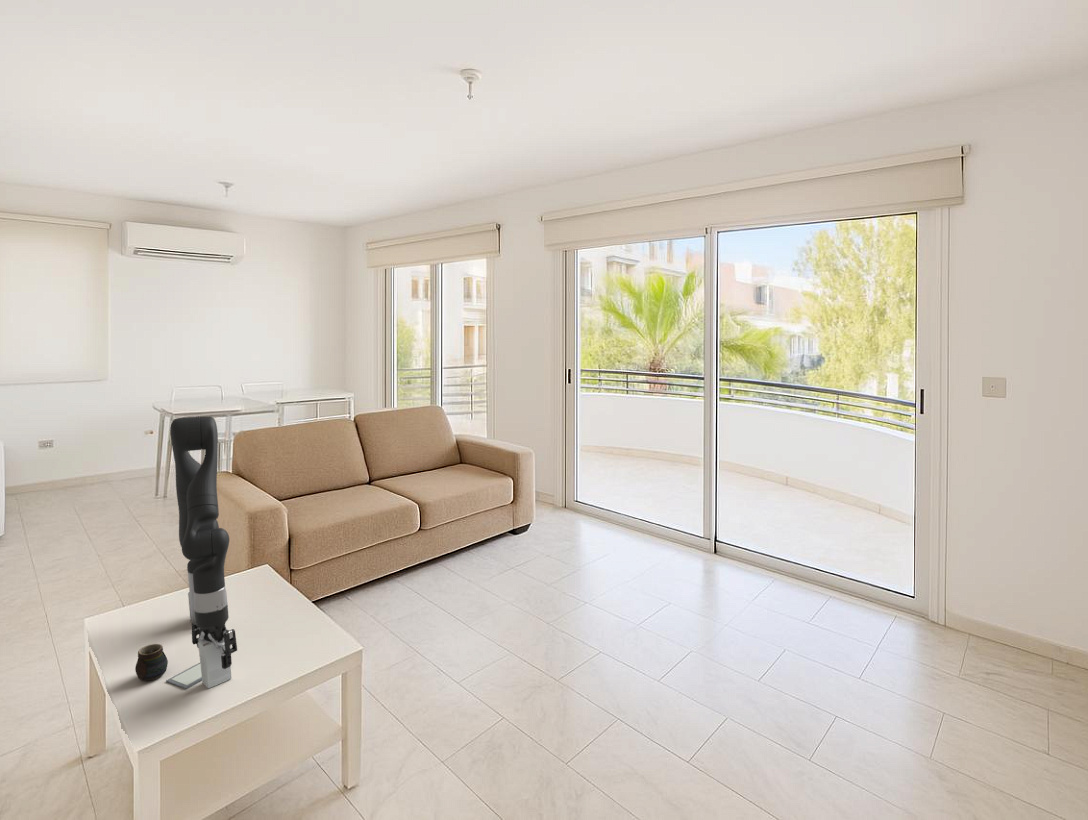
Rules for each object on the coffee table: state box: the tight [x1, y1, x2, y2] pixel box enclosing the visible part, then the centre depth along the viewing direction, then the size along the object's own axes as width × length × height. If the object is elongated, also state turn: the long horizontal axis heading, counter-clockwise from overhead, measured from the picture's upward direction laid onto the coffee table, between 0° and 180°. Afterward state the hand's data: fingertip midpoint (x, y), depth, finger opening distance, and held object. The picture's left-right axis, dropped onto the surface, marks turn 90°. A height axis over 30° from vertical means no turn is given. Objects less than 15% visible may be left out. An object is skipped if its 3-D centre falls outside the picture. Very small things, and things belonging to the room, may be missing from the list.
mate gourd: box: [134, 643, 169, 682], centre depth 159 cm, size 7×8×10 cm
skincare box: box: [198, 639, 233, 689], centre depth 157 cm, size 6×4×12 cm
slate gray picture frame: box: [165, 662, 202, 690], centre depth 160 cm, size 8×10×1 cm
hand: (215, 663), depth 156 cm, fingers open, 8 cm apart
